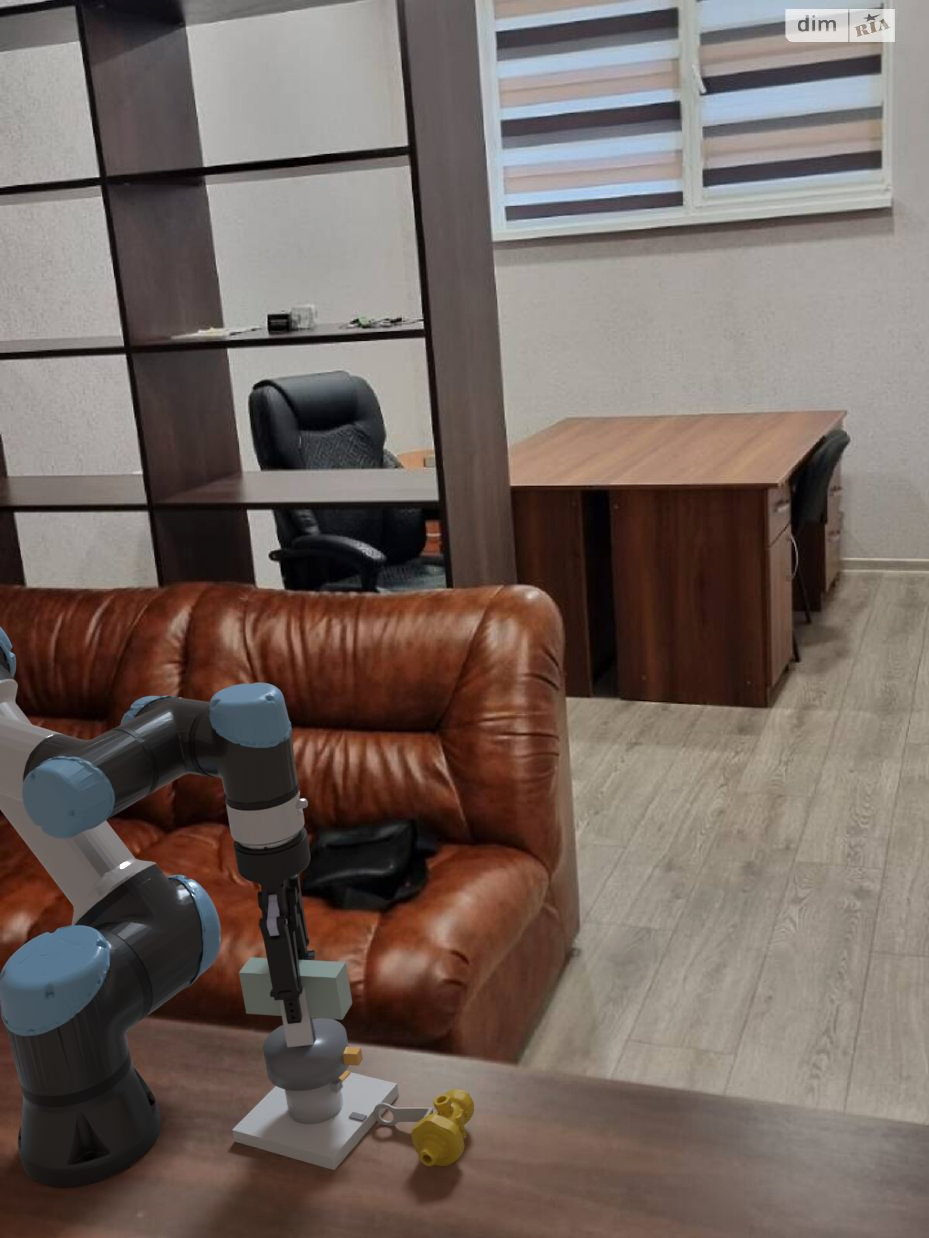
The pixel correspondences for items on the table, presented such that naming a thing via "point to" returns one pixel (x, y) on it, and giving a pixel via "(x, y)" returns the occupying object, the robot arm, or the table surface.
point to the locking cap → (324, 1003)
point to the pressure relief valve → (435, 1126)
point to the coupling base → (320, 1135)
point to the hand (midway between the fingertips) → (302, 1030)
